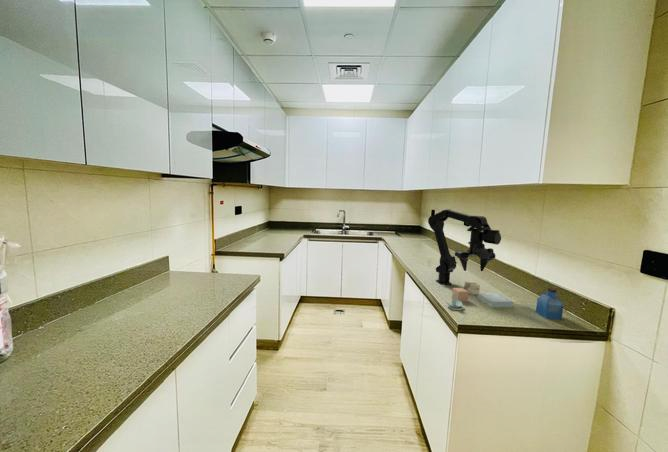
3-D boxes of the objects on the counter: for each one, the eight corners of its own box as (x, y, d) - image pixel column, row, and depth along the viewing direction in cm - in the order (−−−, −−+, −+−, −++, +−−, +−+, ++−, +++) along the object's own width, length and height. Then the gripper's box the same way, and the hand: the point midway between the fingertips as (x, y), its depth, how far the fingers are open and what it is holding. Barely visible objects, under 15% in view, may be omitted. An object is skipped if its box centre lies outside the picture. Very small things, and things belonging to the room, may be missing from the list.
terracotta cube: (451, 297, 129) (452, 287, 129) (461, 297, 130) (462, 287, 129) (457, 301, 124) (458, 291, 124) (467, 301, 125) (468, 291, 124)
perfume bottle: (550, 313, 115) (554, 286, 114) (561, 319, 109) (565, 291, 108) (535, 312, 116) (539, 285, 115) (545, 318, 110) (549, 290, 108)
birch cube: (463, 290, 140) (464, 281, 139) (472, 290, 140) (473, 281, 139) (469, 294, 135) (470, 284, 134) (478, 294, 135) (479, 284, 135)
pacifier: (466, 310, 116) (456, 304, 121) (468, 296, 115) (458, 291, 120) (453, 312, 113) (443, 305, 119) (454, 298, 112) (445, 292, 118)
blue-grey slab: (477, 299, 129) (478, 293, 129) (496, 299, 130) (497, 293, 130) (491, 308, 119) (492, 301, 119) (512, 307, 121) (513, 301, 120)
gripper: (468, 243, 125) (465, 275, 127) (505, 244, 127) (501, 275, 129) (455, 239, 136) (452, 269, 138) (489, 240, 138) (486, 269, 140)
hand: (473, 270), depth 136 cm, fingers open, 9 cm apart
